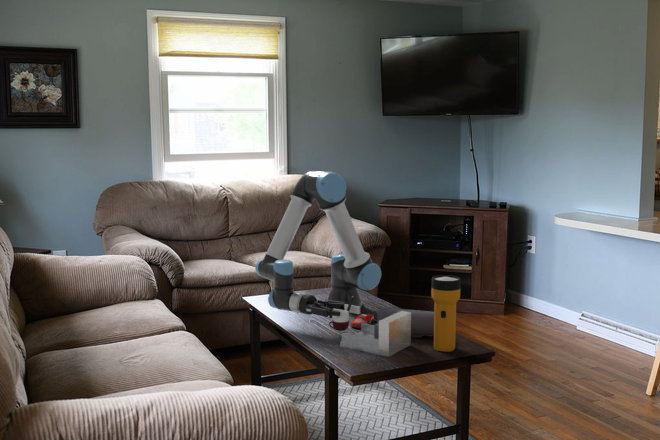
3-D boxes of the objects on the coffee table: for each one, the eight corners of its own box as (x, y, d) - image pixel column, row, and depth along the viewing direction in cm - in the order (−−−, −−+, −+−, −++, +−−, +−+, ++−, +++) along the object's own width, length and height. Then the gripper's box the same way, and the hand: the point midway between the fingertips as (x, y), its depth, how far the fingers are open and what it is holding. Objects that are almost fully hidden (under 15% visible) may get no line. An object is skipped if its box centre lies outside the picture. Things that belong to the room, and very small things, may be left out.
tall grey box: (379, 338, 247) (380, 322, 246) (387, 339, 245) (387, 323, 244) (374, 341, 244) (374, 324, 243) (381, 342, 242) (381, 326, 241)
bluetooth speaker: (439, 333, 260) (439, 308, 258) (437, 341, 251) (438, 314, 249) (379, 330, 264) (379, 305, 263) (376, 337, 255) (376, 311, 254)
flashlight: (462, 275, 242) (457, 281, 233) (461, 345, 245) (456, 354, 236) (435, 273, 245) (428, 278, 236) (433, 342, 249) (427, 351, 240)
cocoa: (329, 332, 250) (328, 301, 248) (329, 327, 256) (328, 296, 254) (355, 331, 250) (354, 300, 248) (354, 326, 256) (353, 295, 254)
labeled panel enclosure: (363, 335, 258) (363, 304, 257) (410, 344, 247) (411, 312, 245) (340, 346, 245) (340, 314, 244) (388, 356, 234) (388, 322, 232)
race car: (360, 330, 265) (360, 320, 265) (348, 328, 268) (348, 318, 268) (376, 322, 276) (376, 312, 276) (365, 320, 279) (365, 310, 279)
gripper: (318, 307, 271) (368, 316, 259) (288, 319, 255) (339, 329, 242) (318, 289, 270) (368, 297, 258) (287, 299, 254) (339, 308, 241)
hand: (354, 312), depth 250 cm, fingers closed on cocoa, 7 cm apart
